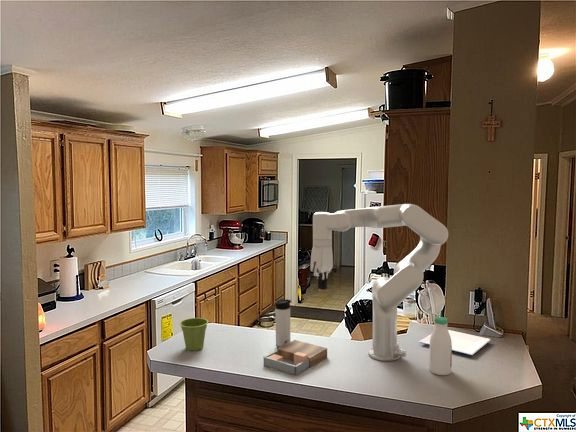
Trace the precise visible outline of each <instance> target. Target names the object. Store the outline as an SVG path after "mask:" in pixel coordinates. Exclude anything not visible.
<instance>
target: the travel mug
mask: <svg viewBox="0 0 576 432" xmlns="http://www.w3.org/2000/svg"><path fill="white" fill-rule="evenodd" d="M291 302H292V300H291V299H279V300H277V301H276V302H275V309H274V310H275V311H274V313H275V347H276V348H279V347H281V346H283V345H285V344H287V343H289V342H291Z"/></svg>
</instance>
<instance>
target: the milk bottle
mask: <svg viewBox="0 0 576 432" xmlns="http://www.w3.org/2000/svg"><path fill="white" fill-rule="evenodd" d="M448 323H449V321H448V318H447V317H443V316H435V317H434V329H433V330H432V332H431V337H430V345H429V350H428V352H429V354H428V355H429V358H428V362H429V363H428V369H429V371H430V373H432V374H434V375H437V376H448V375H451V373H452V352H453V351H452V341H451V337H450V334H449V332H448V330H449V329H448Z"/></svg>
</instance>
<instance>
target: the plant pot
mask: <svg viewBox="0 0 576 432" xmlns="http://www.w3.org/2000/svg"><path fill="white" fill-rule="evenodd" d="M208 323H209V320H208V319H206V318H202V317H190V318H186V319H185V318H184V319H183V320H181V321H180V322H179V325H180V328H181V330H182V334H183V339H184V341H183V342H184V345H185V349H186V350H187V351H189V350H190V351H196V350H197V351H199V350H202V349H203V348H204V345H205V338H206V337H205V336H206V330H207V325H208Z"/></svg>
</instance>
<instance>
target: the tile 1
mask: <svg viewBox="0 0 576 432" xmlns="http://www.w3.org/2000/svg"><path fill="white" fill-rule="evenodd" d="M268 358H271V359H275V360H278V361H281V362H283V356H279V355H276V354H273V355H271V356H269V357H268Z"/></svg>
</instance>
